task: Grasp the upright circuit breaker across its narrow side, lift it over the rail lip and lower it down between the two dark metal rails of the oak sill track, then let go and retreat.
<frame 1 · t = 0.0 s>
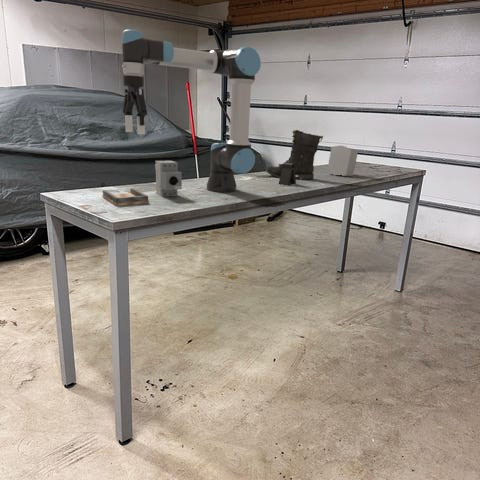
hand: (135, 133, 163), 28 cm above the table, tool pointing down, fingers open, 13 cm apart
track: (125, 200, 174), on the table
circuit breaker: (169, 196, 187), on the table
boot: (290, 178, 258), on the table
door stopper: (287, 184, 234), on the table
electrical switch box: (342, 175, 280), on the table
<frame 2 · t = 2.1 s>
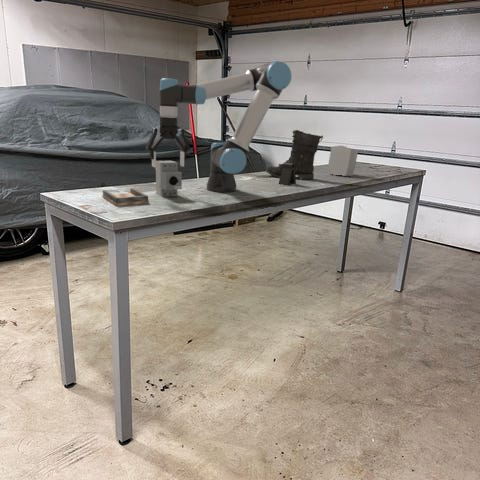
hand: (168, 166, 183), 13 cm above the table, tool pointing down, fingers open, 13 cm apart
nothing on the table moved.
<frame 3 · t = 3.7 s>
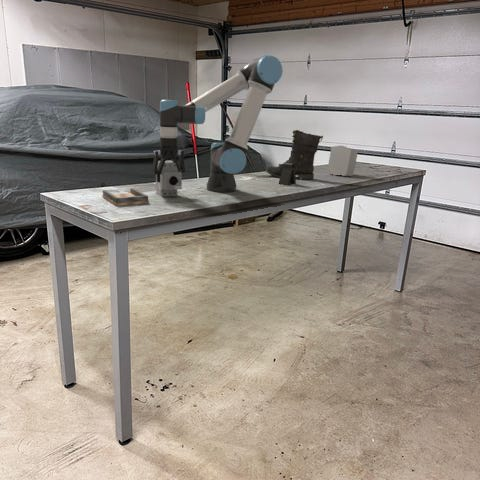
hand: (169, 188, 186), 3 cm above the table, tool pointing down, fingers closed on circuit breaker, 8 cm apart
circuit breaker: (169, 196, 187), on the table, touching gripper
everything else where it was.
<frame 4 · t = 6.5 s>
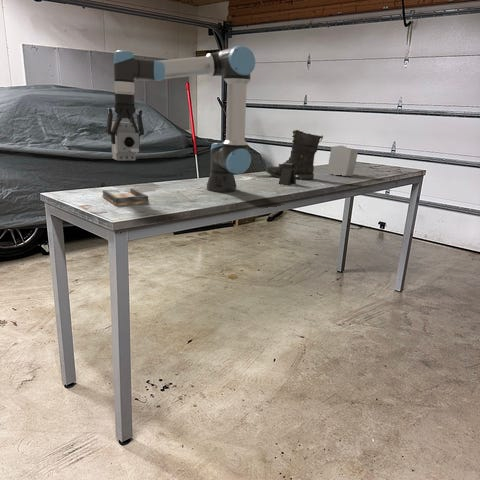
hand: (125, 152, 169), 20 cm above the table, tool pointing down, fingers closed on circuit breaker, 8 cm apart
circuit breaker: (126, 160, 170), point 17 cm above the table, touching gripper
everything else where it was.
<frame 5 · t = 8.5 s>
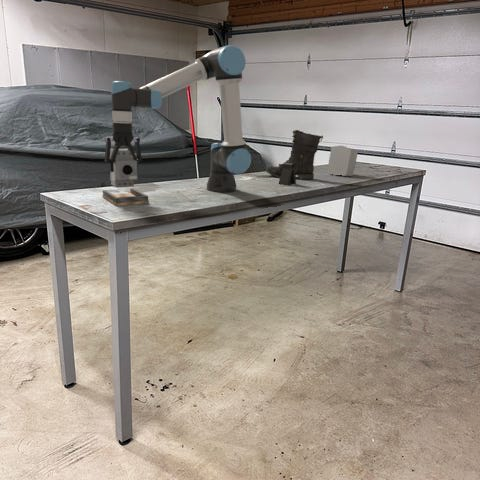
hand: (124, 179, 172), 9 cm above the table, tool pointing down, fingers closed on circuit breaker, 8 cm apart
circuit breaker: (124, 187, 173), point 6 cm above the table, touching gripper
everything else where it was.
when the fingers open (6 cm above the table, at t = 9.6 s): circuit breaker drops 1 cm, resting on track.
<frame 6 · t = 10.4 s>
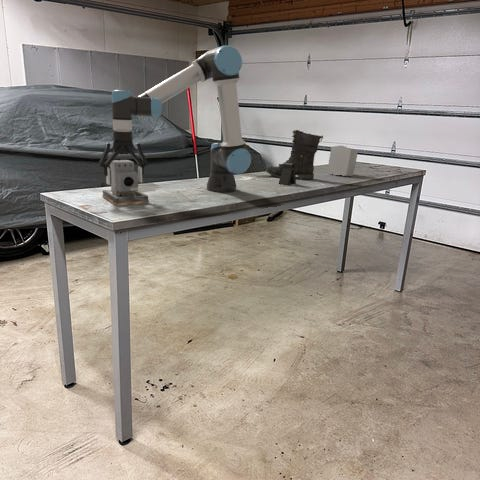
hand: (124, 183, 172), 7 cm above the table, tool pointing down, fingers open, 13 cm apart
circuit breaker: (125, 198, 174), point 1 cm above the table, touching track
everything else where it was.
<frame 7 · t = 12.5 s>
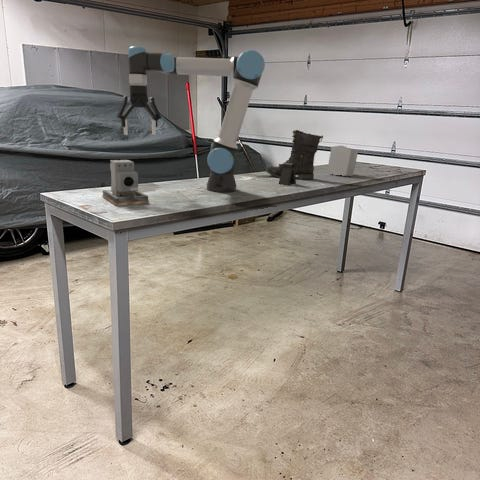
hand: (140, 134, 188), 26 cm above the table, tool pointing down, fingers open, 13 cm apart
nothing on the table moved.
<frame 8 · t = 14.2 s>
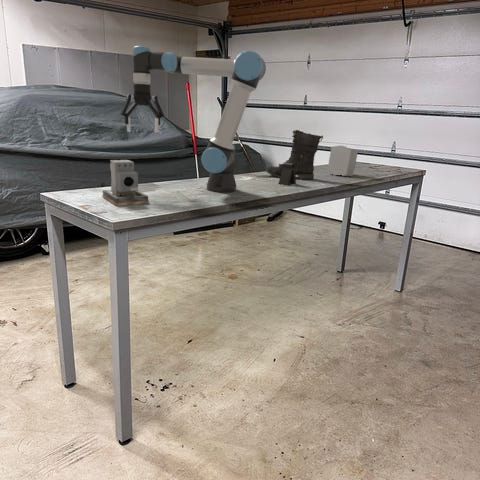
hand: (143, 132, 193), 27 cm above the table, tool pointing down, fingers open, 13 cm apart
nothing on the table moved.
at the end: circuit breaker inside the target area on the track (0.1 cm from its centre), point 0.8 cm above the track's base; circuit breaker tilted 0°; the gripper is holding nothing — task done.
